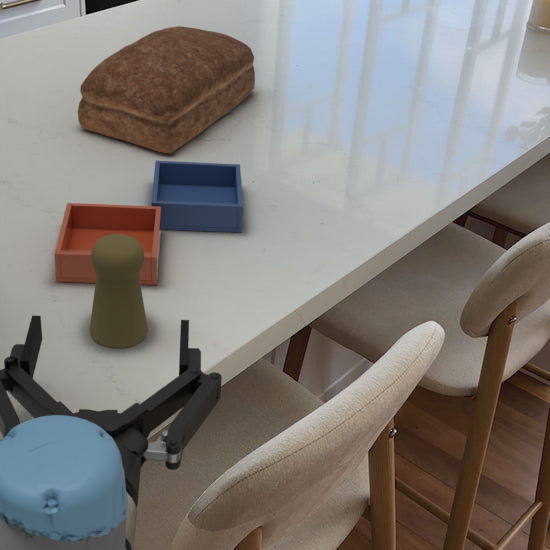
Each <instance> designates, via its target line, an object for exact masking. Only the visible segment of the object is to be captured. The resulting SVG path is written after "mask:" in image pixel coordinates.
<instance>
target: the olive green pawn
mask: <svg viewBox="0 0 550 550" xmlns="http://www.w3.org/2000/svg"><path fill="white" fill-rule="evenodd" d="M91 261H92V265H93V268H94V270H95V271H96V272H97V275H96V283H94V292H93V299H92V307H91V314H90V315H91V316H90V323H89V336H90V337H91V339H92V340H93V341H94V342H95V343H97V344H98V345H100V346H103V347H105V348H110V349H126V348H130V347H133V346H136V345H139V344H140V343H141V342H142V341H143V340H144V339H145V338H146V337H147V334H148V330H149V329H148V323H147V317H146V310H145V303H144V298H143V291H142V285H141V284H140V277H139V271H140V270H141V268H142V265H143V262H144V252H143V249H142V246H141V244H140V243H139V242H138V241H137V240H136V239H135V238H133V237H131V236H128V235H123V234H112V235H108V236H104V237H102V238H100V239H99V240H98V241H97V242H96V243H95V244H94V246H93V249H92V252H91Z"/></svg>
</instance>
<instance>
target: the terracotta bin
mask: <svg viewBox="0 0 550 550" xmlns="http://www.w3.org/2000/svg"><path fill="white" fill-rule="evenodd" d="M161 232H162V229H161V207H158V206H151V205H129V204H106V203H81V202H67V203H66V207H65V210H64V214H63V218H62V222H61V226H60V230H59V233H58V238H57V240H56V241H57V242H56V246H55V249H54V255H53V256H54V269H55V270H54V271H55V282H56V283H78V284H79V283H81V284H84V283H85V284H95V283H96V275H97V272H96V271H95V270H94V268H93V265H92V261H91V252H92V249H93V246H94V244H95V243H96V242H97V241H98V240H99V239H100V238H102V237H104V236H108V235H112V234H123V235H128V236H131V237H133V238H135V239H136V240H137V241H138V242H139V243H140V244H141V246H142V249H143V252H144V262H143V265H142V268H141V270H140V271H139V277H140V284H141V286H142V285H144V286H157V285H158V274H159V273H158V272H159V260H160V247H161V234H162V233H161Z"/></svg>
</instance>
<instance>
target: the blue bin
mask: <svg viewBox="0 0 550 550" xmlns="http://www.w3.org/2000/svg"><path fill="white" fill-rule="evenodd" d="M154 164H155V165H154V172H153V182H152V193H151V205H150V206H158V207H161V230H167V231H168V230H169V231H188V232H189V231H192V232H220V233H242V227H243V215H244V214H243V212H244V201H243V185H242V172H241V164H239V163H219V162H218V163H216V162H193V161H173V160H172V161H171V160H155V163H154Z"/></svg>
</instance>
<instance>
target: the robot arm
mask: <svg viewBox="0 0 550 550" xmlns="http://www.w3.org/2000/svg"><path fill="white" fill-rule="evenodd" d="M189 334H190V320H189V319H180V334H179V335H180V337H179V357H178V358H179V359H178V361H179V362H178V376H177V377H175V378H174V379H173V380H171V381H170V382H167V384H166V385H164V386H162V387H161V388H160V389H159V390H157V391H156V392H154V393H153V394H152V395H150V396H149V397H148V398H146V399H145V400H144V401H142V402H141V403H139V402H135V403H133V404H132V405H131V406H129V407H128V408H127V409H124V410H123V411H122V412H119V411H118V409H104V410H93V409H89V408H88V409H86V408H79V409H78V411H76V412H73V411H72V410H70V409H69V408H68V407H67V406H66V405H65V404H64V403H63V402H62V401H60V400H59V401H57V400H56V399H55V398H53V396H52V395H50V394H49V393H48V392H47V391H46V390H45V389H44V388H43V387H42V386H41V385H40V384H39V383H38V382H37V381H36V380H35V379H34V375H35V372H36V371H35V370H36V367H37V363H38V359H39V355H40V350H41V346H42V342H43V329H42V317H41V315H31V319H30V321H29V325H28V330H27V334H26V338H25V341H24V343H15V344H14V345H13V346H12V347H11V350H10V353H9V354H10V355H9V356H7V357H6V358H4V360H3V365H4V366H3V367H4V368H2V369H0V433H1V436H2V439H1V440H0V550H135V540H136V527H137V517H138V510H137V509H138V505H139V493H140V484H141V483H140V481H141V470H142V467H143V465H144V464H145V463H146V462H147V460H148V461H149V460H150V461H158V462H159V461H161V462H165V463H164V464H165V465H164V466H165V468H167V470H171V471H173V470H174V471H175V470H178V469H179V468H180V466H181V464H182V458H183V453H184V450H185V448H186V447H187V445H188V444H189V443H190V442H191V440H192V438H194V436H195V434H196V433H197V432H198V430H199V429H200V428H201V426H202V425H203V423H204V422H205V421H206V420H207V418H208V416H209V415H210V414H211V412H212V411H213V410H214V408H215V407H216V405H217V404H218V403H219V402H220V400H221V392H222V380H223V379H222V378H223V377H222V375H221V374H220V373H219V372H216V371H215V372H213V371H212V372H210V373H209V374H207V373H204V372H203V371H202V351H201V349H200V348H199V347H198V348H197V347H196V348H195V347H189V339H190V337H189V336H190V335H189ZM8 393H9V394H10V395H11V396H12V397H13V398H14V399H15V401H17V402H18V404H19V405H21V406H22V407H23V408H24V409H25V411H26V412H28V414H29V415H30V416H31V417H32V419H29V420H25V421H23V422H21V420H20V418H19V415H18V413H17V411H16V409H15V407H14V405H13V403H12V401H11V398H10V396H9V394H8ZM178 411H179V412H178ZM177 412H178V413H177ZM176 413H177V415H176V416H175V418H174V419H173V420H172V421H171V423H170V425H169V427H168V430H162V432H161V435H158V437H157V439H156V440H154V441H149V440H148V438H149V436H150V434H151V433H152V432H153V431H155V430H156V429H157V428H158V427H160V426H161V425H162V424H163V423H165V422H166V421H167V420H168V419H170V418H171V417H172V416H173V415H175V414H176Z"/></svg>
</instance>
